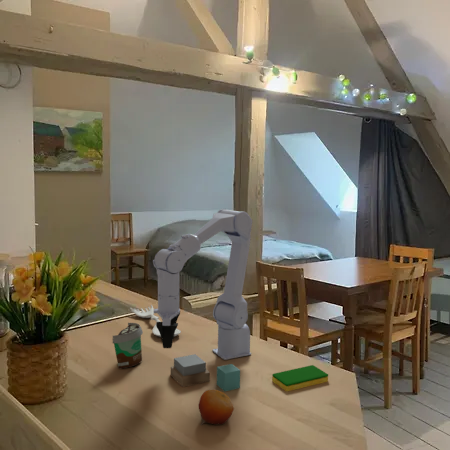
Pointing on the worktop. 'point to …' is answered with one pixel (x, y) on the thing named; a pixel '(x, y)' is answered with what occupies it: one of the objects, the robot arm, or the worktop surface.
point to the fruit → (215, 407)
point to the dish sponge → (299, 378)
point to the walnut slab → (190, 377)
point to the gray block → (189, 365)
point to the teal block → (228, 377)
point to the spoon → (148, 315)
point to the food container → (128, 346)
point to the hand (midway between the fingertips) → (168, 342)
